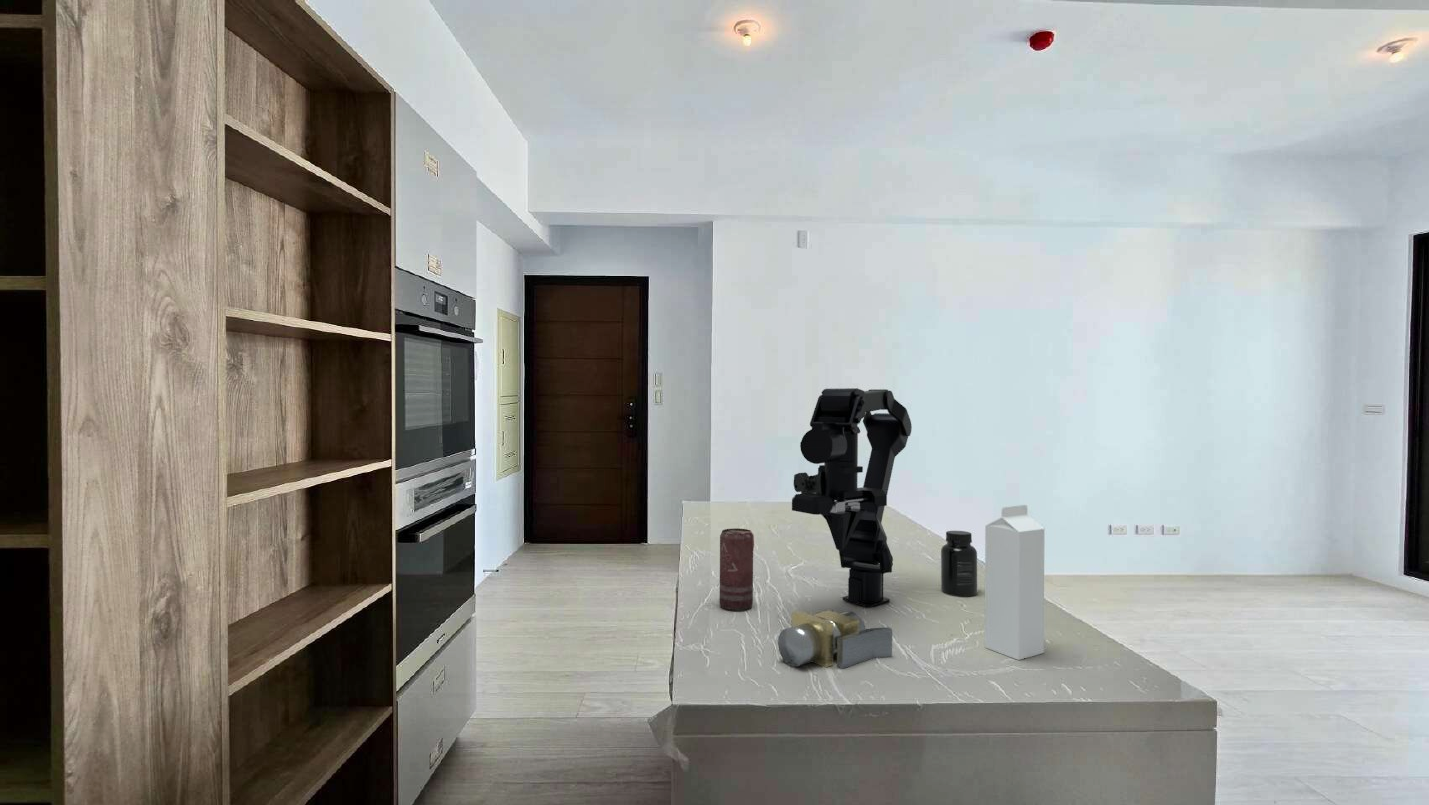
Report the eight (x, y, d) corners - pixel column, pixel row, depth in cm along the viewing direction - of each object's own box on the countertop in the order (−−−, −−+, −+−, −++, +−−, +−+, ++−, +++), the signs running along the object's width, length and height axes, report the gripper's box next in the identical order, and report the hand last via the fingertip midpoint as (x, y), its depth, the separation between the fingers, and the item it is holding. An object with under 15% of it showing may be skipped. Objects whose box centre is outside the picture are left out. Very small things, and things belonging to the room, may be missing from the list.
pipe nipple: (837, 640, 105) (837, 607, 105) (867, 651, 100) (868, 616, 100) (803, 652, 99) (803, 617, 99) (833, 664, 95) (833, 627, 95)
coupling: (828, 632, 109) (829, 595, 109) (893, 655, 98) (894, 615, 98) (760, 652, 99) (760, 612, 99) (824, 681, 89) (824, 636, 89)
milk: (1044, 654, 100) (1046, 507, 100) (1018, 661, 97) (1020, 510, 97) (1008, 641, 105) (1010, 502, 105) (983, 647, 102) (985, 504, 102)
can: (751, 612, 118) (752, 534, 118) (716, 610, 120) (717, 532, 120) (756, 603, 124) (756, 528, 124) (722, 600, 126) (723, 526, 126)
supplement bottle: (980, 591, 134) (980, 531, 134) (973, 599, 128) (973, 537, 128) (945, 586, 137) (945, 528, 137) (936, 593, 132) (937, 533, 132)
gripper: (841, 455, 128) (840, 536, 128) (770, 459, 116) (769, 548, 116) (889, 459, 119) (888, 546, 119) (816, 464, 107) (815, 560, 107)
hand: (840, 549), depth 115 cm, fingers closed
